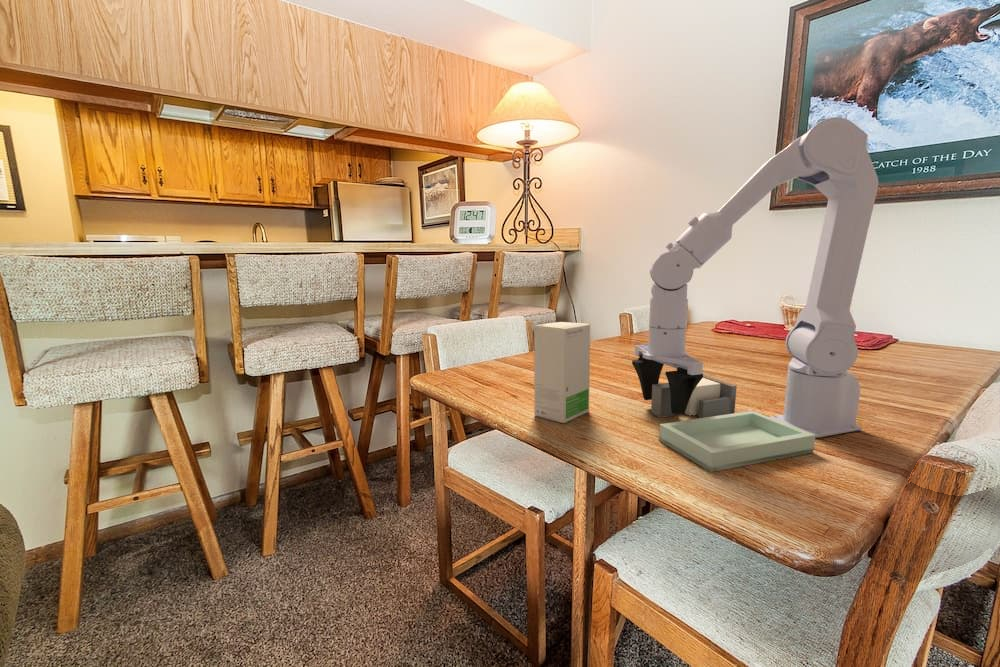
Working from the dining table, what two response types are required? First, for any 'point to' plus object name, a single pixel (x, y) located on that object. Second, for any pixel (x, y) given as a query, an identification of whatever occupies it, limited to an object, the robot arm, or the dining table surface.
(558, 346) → the skincare box
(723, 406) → the bay
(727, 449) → the tray
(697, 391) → the joined block pair
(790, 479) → the dining table surface
